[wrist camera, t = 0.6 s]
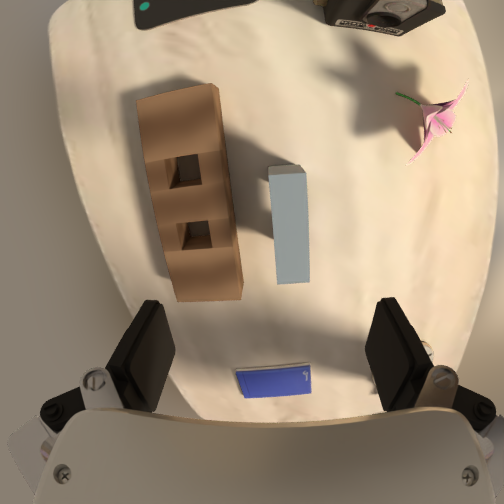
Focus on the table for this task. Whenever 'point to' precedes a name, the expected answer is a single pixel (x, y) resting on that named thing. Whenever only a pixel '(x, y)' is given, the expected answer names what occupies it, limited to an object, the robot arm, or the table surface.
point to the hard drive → (275, 380)
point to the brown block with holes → (192, 192)
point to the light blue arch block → (290, 223)
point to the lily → (437, 119)
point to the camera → (381, 14)
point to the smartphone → (178, 10)
